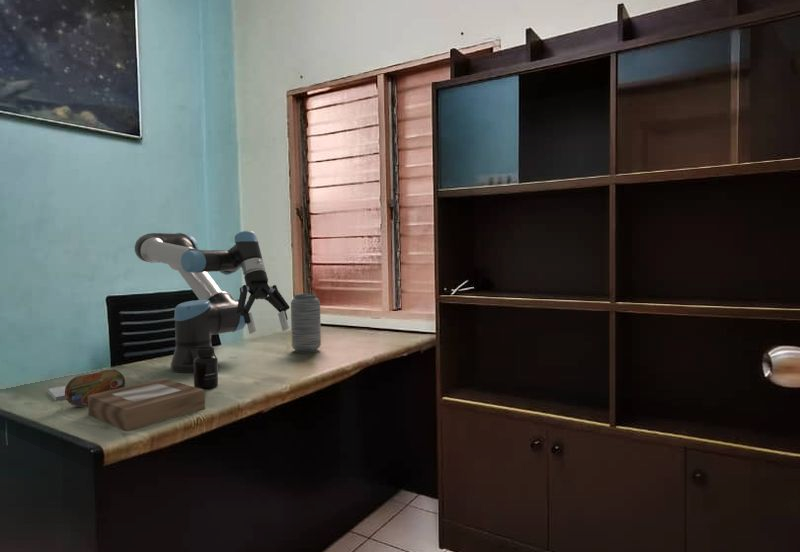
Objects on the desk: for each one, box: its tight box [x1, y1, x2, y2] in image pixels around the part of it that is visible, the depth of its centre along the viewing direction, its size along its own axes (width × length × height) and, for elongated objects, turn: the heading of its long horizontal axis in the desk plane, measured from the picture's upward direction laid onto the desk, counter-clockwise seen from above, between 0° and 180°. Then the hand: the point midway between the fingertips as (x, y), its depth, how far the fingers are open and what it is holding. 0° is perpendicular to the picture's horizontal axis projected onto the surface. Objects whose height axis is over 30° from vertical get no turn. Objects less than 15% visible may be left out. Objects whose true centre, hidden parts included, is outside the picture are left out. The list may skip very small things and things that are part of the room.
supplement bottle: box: [193, 346, 219, 391], centre depth 152 cm, size 7×7×12 cm
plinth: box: [87, 378, 206, 432], centre depth 130 cm, size 20×20×5 cm
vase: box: [290, 293, 322, 354], centre depth 203 cm, size 12×12×23 cm
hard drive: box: [46, 385, 67, 402], centre depth 147 cm, size 2×8×12 cm
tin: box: [65, 369, 126, 408], centre depth 138 cm, size 15×3×8 cm, turn 149°
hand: (269, 331), depth 170 cm, fingers open, 13 cm apart
